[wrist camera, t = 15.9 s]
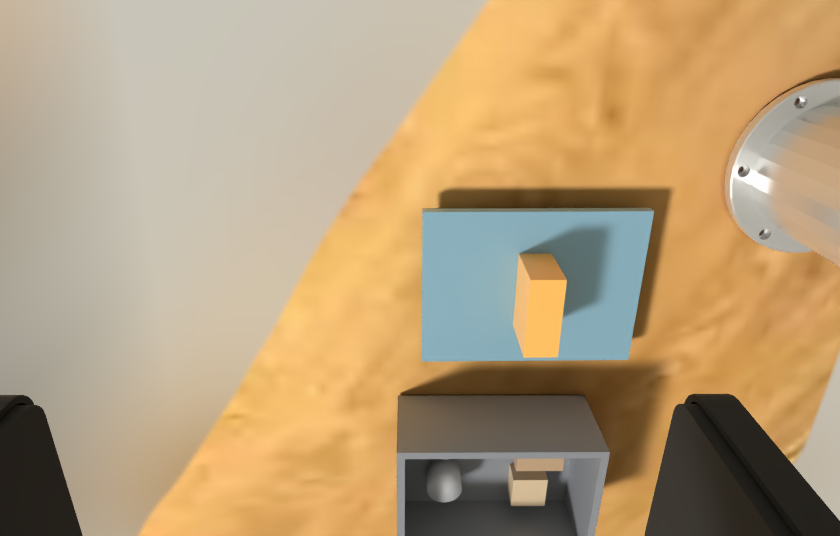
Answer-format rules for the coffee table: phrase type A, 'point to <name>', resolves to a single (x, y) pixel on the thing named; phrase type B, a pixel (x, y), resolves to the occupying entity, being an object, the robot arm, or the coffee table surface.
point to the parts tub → (499, 466)
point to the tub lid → (531, 282)
